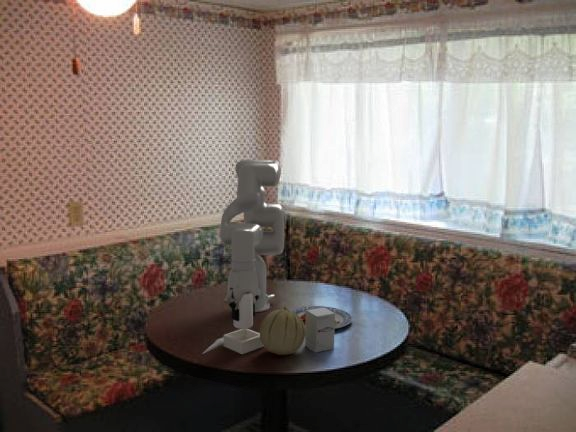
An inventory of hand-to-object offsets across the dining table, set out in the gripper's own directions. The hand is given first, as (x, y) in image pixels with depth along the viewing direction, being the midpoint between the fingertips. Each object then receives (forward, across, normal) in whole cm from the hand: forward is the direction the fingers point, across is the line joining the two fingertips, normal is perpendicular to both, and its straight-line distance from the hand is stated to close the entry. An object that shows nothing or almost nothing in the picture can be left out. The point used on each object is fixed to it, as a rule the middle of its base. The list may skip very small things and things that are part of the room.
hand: (243, 317), depth 192 cm
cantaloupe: (+10, -5, +13) cm, 18 cm away
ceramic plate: (+11, -36, +1) cm, 37 cm away
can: (+3, 0, 0) cm, 3 cm away
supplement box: (+10, -18, +18) cm, 28 cm away
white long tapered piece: (+11, +7, -7) cm, 14 cm away
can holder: (+10, 0, 0) cm, 10 cm away
